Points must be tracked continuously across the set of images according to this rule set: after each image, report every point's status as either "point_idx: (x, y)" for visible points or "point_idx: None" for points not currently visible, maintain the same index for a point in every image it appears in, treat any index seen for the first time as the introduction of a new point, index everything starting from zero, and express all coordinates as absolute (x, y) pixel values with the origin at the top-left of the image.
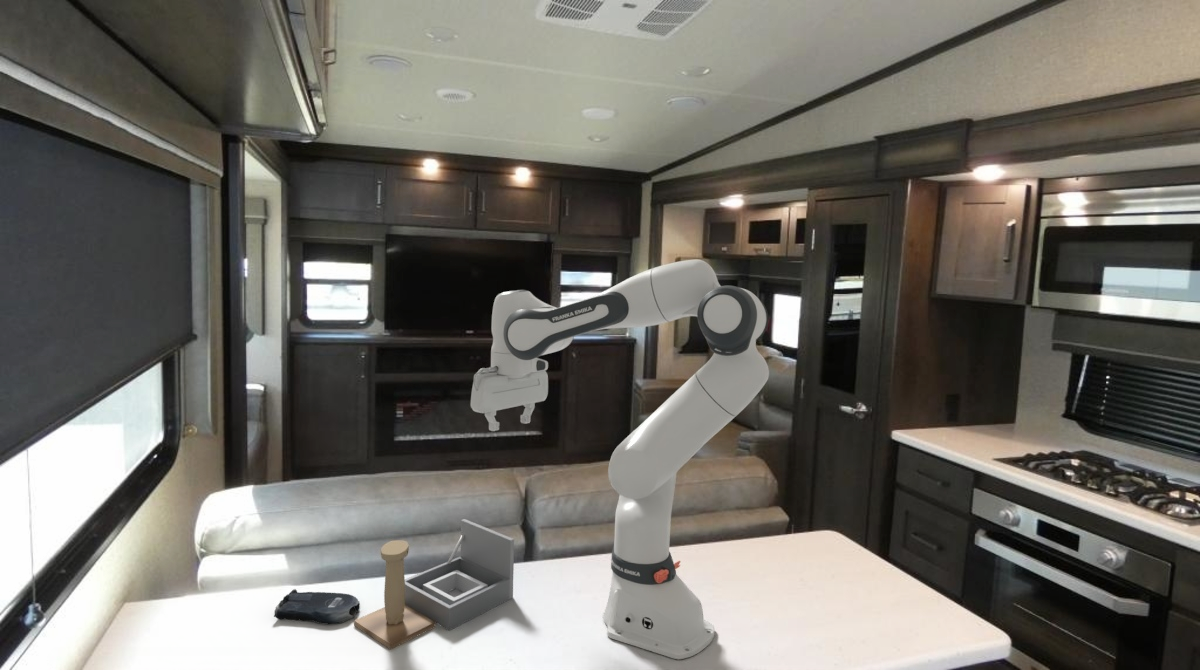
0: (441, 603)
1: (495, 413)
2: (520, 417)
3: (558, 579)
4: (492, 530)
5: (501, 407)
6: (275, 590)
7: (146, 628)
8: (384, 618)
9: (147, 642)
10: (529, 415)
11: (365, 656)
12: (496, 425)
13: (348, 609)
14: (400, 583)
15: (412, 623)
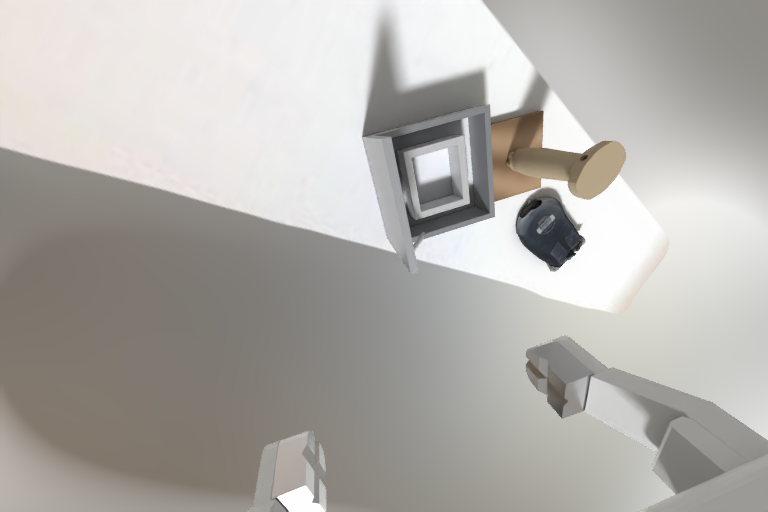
0: (489, 126)
1: (697, 437)
2: (325, 491)
3: (268, 147)
4: (396, 202)
5: (753, 508)
6: (547, 291)
7: (633, 272)
8: (518, 173)
9: (644, 250)
10: (265, 502)
11: (561, 114)
12: (576, 360)
13: (542, 204)
14: (555, 151)
15: (503, 142)
